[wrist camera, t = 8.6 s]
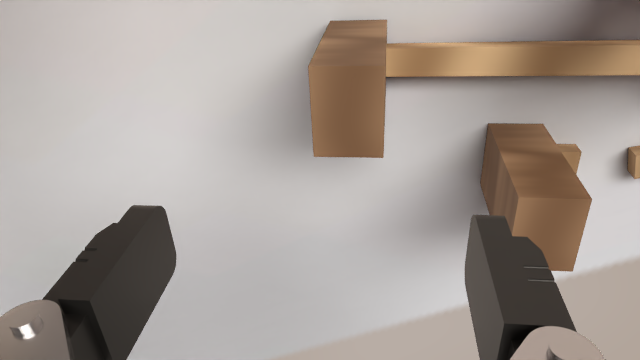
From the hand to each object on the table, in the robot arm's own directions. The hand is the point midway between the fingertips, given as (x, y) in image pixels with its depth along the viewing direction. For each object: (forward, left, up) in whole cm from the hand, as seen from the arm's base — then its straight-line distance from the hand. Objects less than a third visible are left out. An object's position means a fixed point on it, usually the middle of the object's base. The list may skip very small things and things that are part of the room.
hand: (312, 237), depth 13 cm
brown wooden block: (+12, -6, -17) cm, 22 cm away
